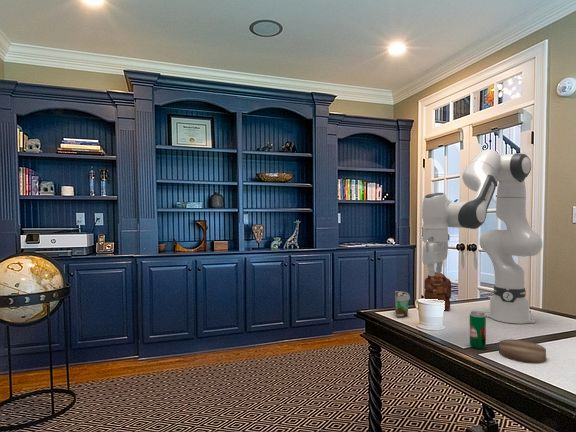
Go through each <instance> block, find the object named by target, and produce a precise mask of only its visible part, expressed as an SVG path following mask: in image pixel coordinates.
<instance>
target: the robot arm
mask: <svg viewBox="0 0 576 432" xmlns="http://www.w3.org/2000/svg"><path fill="white" fill-rule="evenodd" d="M531 171H532V162H531V159H530V157H529V156H528V155H527V154H525V153H521V152H518V153H517V152H516V153H514V154H512V153H511V154H509V153H508V154H507V153H506V154H500V153H499V152H497V151H496V150H493V149H484V150H481V151H480V152H479V153H477V155H475V156H474V157H473V158H472V160H471V161H470V162H469V163H468V164H467V166H466V167H465V169H463V172H462V175H461V176H462V182H463V183H464V185H465V186H466V187H467V188H468V189H469V190H471V191H474V192H476V193H475V196H474V197H473V199H470V200H467V201H466V200H465V201H452V200H450V199H448V198H447V196H446V193H444V192H435V193H428V194H426V195H424V196H423V200H422V207H421V219H422V222H423V223H422V229H421V230H422V231H421V236H422V242H424V243H423V245H422V264H423V265H426V267H427V270H428V275H429V276H434V275H435V272H437V273H442V272H443V264H444V261H445V260H447V258H448V252H449V251H448V250H449V241H450V234H449V228H459V229H460V228H461V229H462V228H464V229H470V230H471V229H472V230H476V229H479V228H480V227H482V225H483V224H484V223H485V221H486V218H487V212H488V209H489V206H490V204H491V201H492V198H493V196H494V194H495V191H496V202H495V203H496V205H495V216H496V217H497V218H498V219H499V220H500V221H503V223H504V225H505V226H506V229H492V230H487V231H483V232H482V233H481V235H480V237H479V246H480V248H481V250H483V251H484V252H485V253H486V254H487V256H488V257H489V259H490V261H491V263H492V266H493V270H494V286H493V294H494V295H492V296H491V297H490V299H489V311H488V312H486V313H485V316H486V318H491V319H492V320H495V321H498V322H503V323H509V324H519V325H520V324H535V323H536V320H535V317H534V316H533V314H532V313H531V310H530V302H529V301H528V300H527V299H526V297H527V295H526V294H527V291H526V288H525V270H524V269H523V268H522V266H520V265H519V264H517V263H516V262H515V260H514V258H513V257H514V256H515V257H522V258H523V257H524V258H525V257H533V256H537V255H538V254H539V253H540V252H541V250H542V249H543V241H542V238H541V236H540V235H539V234H538V233H536V232H535V231H534V230H533V229H532V227H531V226H530V224H529V222H528V219H527V218H528V217H527V213H526V211H527V208H526V205H527V204H526V203H527V192H526V191H527V190H526V183H525V180H526V178H527V177H528V176H529V175H530V173H531ZM497 182H498V184H497ZM496 187H497V190H496ZM435 265H436V268H435Z"/></svg>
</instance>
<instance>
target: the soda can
mask: <svg viewBox="0 0 576 432" xmlns="http://www.w3.org/2000/svg"><path fill="white" fill-rule="evenodd" d="M485 314H486V313H485V312H483V311H478V310H471V311H470V313H469V346H470V347H471V348H472V349H475V348H476V349H477V350H484V349H485V348H486V347H487V316H485Z"/></svg>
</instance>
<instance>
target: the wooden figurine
mask: <svg viewBox="0 0 576 432" xmlns="http://www.w3.org/2000/svg"><path fill="white" fill-rule="evenodd" d="M423 287H424V293H423V294H424V297H423V299H438V300H444V301H445V310H444V311H447V312H450V310H451V298H452V281H451V280H450V278H448V277H447V276H446V275H445V274H444V273H442V272H440V273H437V272H436V271H435V275H434V276H429V274H428V275H427V277H426V278H425V279H424V286H423Z"/></svg>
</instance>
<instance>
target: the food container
mask: <svg viewBox="0 0 576 432" xmlns="http://www.w3.org/2000/svg"><path fill="white" fill-rule="evenodd" d="M394 295H395V296H394V299H395V300H394V302H395V303H394V307H395V308H394V309H395V312H394V313H395V315H396V318H397V319H402V318H407V317H408V314H409V300H411V296H410V294H409V293H408V292H407V291H401V290H400V291H399V290H394Z"/></svg>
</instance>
